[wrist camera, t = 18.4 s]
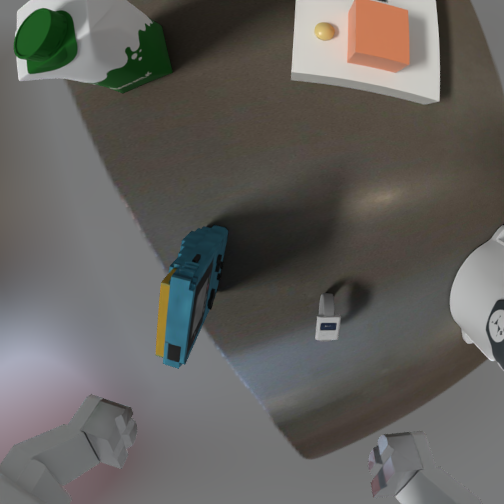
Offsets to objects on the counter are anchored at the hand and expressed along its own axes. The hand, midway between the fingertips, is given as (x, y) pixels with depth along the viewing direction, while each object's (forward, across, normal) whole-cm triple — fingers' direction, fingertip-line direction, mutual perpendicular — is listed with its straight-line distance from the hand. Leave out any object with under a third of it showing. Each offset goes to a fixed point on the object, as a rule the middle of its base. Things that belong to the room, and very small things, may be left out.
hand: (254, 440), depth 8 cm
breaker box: (+29, +8, +25) cm, 39 cm away
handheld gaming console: (+29, -8, -6) cm, 31 cm away
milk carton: (+29, -18, +19) cm, 39 cm away
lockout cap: (+25, +8, +21) cm, 34 cm away
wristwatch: (+29, +7, -11) cm, 32 cm away
